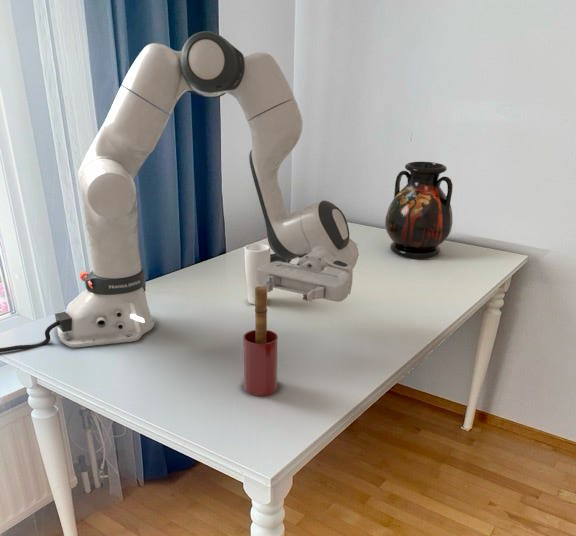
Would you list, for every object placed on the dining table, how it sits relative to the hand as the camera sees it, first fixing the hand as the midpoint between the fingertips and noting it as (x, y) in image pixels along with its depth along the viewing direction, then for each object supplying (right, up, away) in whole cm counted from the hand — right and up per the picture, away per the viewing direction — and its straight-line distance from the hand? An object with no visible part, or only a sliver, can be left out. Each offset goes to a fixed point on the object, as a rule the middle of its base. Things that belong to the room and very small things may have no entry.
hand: (285, 292), depth 122 cm
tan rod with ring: (-5, -19, +1) cm, 19 cm away
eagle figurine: (-4, +15, +60) cm, 62 cm away
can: (-5, -19, +1) cm, 20 cm away
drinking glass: (-8, +3, +40) cm, 41 cm away
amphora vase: (+43, +25, +80) cm, 94 cm away
